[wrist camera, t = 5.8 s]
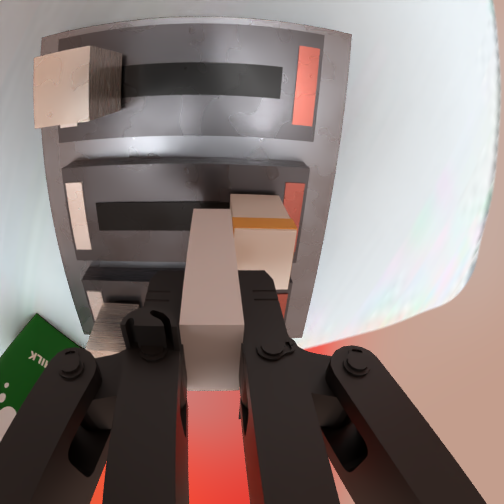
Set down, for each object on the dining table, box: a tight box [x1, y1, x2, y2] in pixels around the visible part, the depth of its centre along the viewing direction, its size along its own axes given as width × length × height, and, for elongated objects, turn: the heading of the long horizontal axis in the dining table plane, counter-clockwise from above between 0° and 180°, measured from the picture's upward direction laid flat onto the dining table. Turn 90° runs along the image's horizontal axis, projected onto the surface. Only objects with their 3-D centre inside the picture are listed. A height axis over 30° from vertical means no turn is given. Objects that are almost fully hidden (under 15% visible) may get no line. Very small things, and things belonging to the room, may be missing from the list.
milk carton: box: [0, 314, 80, 442], centre depth 16 cm, size 9×9×20 cm
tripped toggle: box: [230, 194, 297, 290], centre depth 15 cm, size 3×2×4 cm
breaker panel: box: [33, 17, 352, 358], centre depth 16 cm, size 21×17×8 cm
